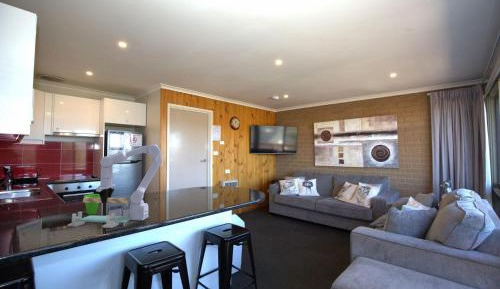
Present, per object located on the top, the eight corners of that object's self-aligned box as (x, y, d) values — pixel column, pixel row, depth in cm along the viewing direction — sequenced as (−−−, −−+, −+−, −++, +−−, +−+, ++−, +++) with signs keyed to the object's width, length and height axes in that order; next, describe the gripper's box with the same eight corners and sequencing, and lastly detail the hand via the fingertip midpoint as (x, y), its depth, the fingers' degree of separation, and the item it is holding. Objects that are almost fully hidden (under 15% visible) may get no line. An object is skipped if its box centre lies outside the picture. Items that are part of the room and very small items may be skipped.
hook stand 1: (85, 223, 131) (85, 211, 131) (77, 226, 125) (77, 214, 125) (76, 223, 131) (76, 211, 131) (67, 226, 125) (68, 214, 125)
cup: (92, 215, 146) (92, 197, 146) (79, 214, 148) (79, 196, 148) (103, 212, 155) (104, 194, 155) (91, 211, 157) (92, 193, 157)
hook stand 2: (118, 224, 130) (119, 212, 130) (111, 228, 124) (112, 215, 124) (109, 224, 130) (109, 212, 131) (102, 227, 124) (102, 215, 125)
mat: (133, 218, 143) (133, 216, 143) (124, 223, 133) (124, 221, 133) (89, 216, 144) (89, 215, 144) (77, 221, 134) (77, 220, 134)
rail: (128, 202, 138) (128, 198, 138) (125, 203, 136) (126, 199, 136) (86, 201, 139) (86, 197, 139) (83, 202, 137) (83, 198, 137)
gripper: (107, 176, 145) (106, 199, 145) (90, 179, 131) (89, 205, 130) (119, 176, 145) (118, 200, 145) (103, 179, 130) (103, 205, 130)
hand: (105, 202), depth 137 cm, fingers closed on rail, 2 cm apart
